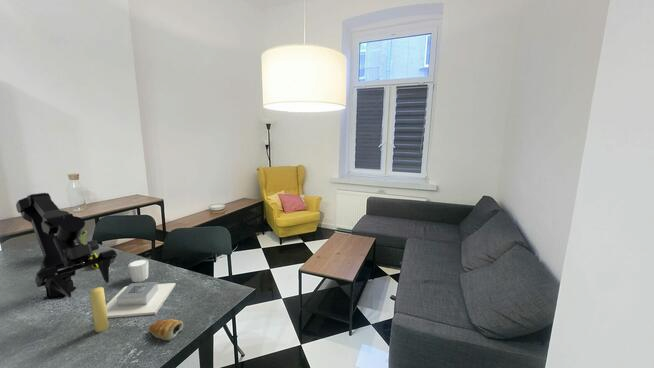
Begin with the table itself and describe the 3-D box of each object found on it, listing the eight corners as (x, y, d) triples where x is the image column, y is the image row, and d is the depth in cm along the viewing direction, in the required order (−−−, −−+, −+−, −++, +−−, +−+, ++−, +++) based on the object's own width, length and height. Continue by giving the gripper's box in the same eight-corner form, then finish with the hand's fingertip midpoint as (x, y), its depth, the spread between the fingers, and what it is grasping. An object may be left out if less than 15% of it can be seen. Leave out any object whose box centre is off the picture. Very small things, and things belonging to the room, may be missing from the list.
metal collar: (117, 307, 91) (116, 297, 90) (131, 292, 100) (130, 283, 99) (146, 304, 93) (146, 295, 92) (158, 290, 101) (157, 281, 101)
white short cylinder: (139, 284, 107) (138, 267, 105) (125, 281, 108) (123, 265, 107) (153, 275, 113) (152, 260, 112) (140, 273, 114) (138, 258, 113)
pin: (92, 332, 80) (86, 293, 78) (99, 325, 83) (94, 287, 81) (104, 331, 81) (99, 292, 78) (111, 324, 84) (106, 286, 82)
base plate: (94, 319, 86) (94, 317, 86) (125, 288, 103) (125, 286, 103) (155, 314, 89) (155, 311, 89) (175, 284, 107) (175, 283, 106)
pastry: (142, 337, 79) (141, 326, 79) (160, 322, 86) (159, 311, 85) (170, 342, 78) (169, 331, 77) (186, 327, 84) (185, 316, 83)
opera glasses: (85, 266, 121) (81, 257, 119) (98, 259, 125) (94, 251, 123) (97, 271, 117) (93, 262, 115) (110, 264, 121) (106, 255, 119)
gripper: (31, 244, 74) (52, 293, 71) (111, 226, 90) (131, 265, 87) (27, 264, 79) (46, 309, 76) (103, 243, 95) (122, 280, 92)
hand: (90, 289), depth 82 cm, fingers open, 9 cm apart
